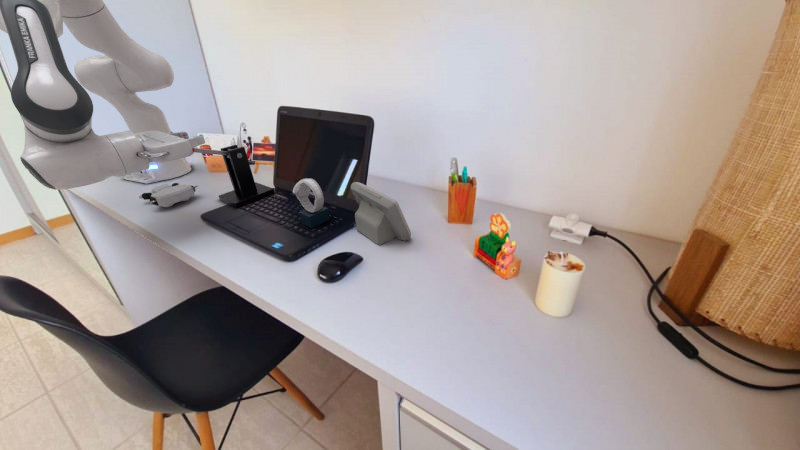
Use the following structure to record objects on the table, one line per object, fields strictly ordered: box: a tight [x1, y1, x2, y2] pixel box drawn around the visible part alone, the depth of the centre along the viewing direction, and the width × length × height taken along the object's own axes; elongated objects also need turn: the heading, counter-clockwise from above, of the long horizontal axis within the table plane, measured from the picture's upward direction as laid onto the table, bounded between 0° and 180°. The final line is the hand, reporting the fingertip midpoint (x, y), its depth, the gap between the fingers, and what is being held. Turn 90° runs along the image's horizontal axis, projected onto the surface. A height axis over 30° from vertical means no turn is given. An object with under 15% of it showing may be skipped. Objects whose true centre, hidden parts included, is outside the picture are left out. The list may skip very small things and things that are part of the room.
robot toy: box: [138, 182, 200, 208], centre depth 96 cm, size 12×4×15 cm
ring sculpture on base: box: [292, 177, 331, 229], centre depth 78 cm, size 6×8×11 cm
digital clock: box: [350, 181, 412, 246], centre depth 72 cm, size 16×9×11 cm, turn 27°
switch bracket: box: [218, 144, 276, 209], centre depth 93 cm, size 12×10×15 cm
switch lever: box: [192, 147, 232, 158], centre depth 86 cm, size 15×4×4 cm, turn 141°
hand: (194, 137), depth 82 cm, fingers open, 8 cm apart
